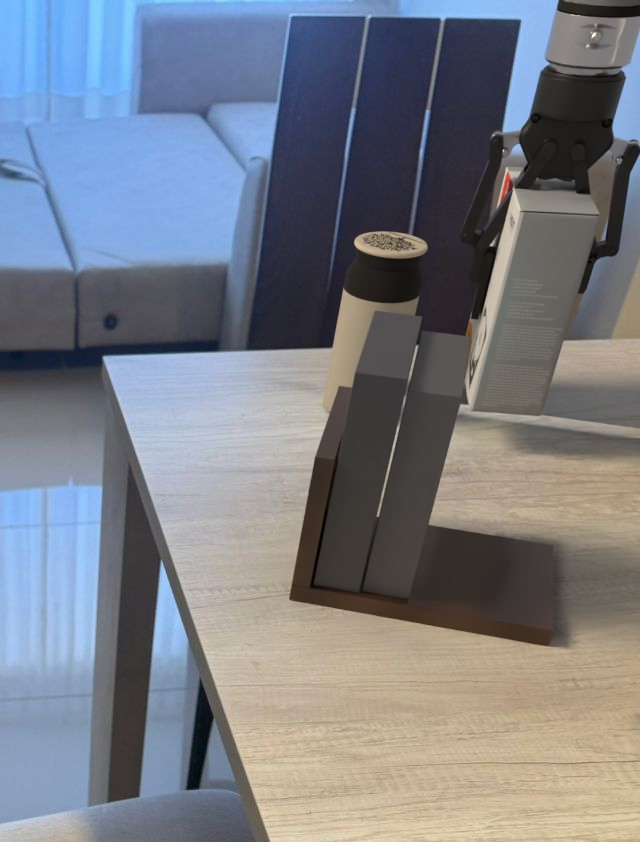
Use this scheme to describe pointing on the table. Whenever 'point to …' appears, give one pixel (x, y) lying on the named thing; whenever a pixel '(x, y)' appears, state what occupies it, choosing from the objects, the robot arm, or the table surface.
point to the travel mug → (372, 297)
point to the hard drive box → (529, 295)
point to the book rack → (435, 567)
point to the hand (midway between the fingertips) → (516, 319)
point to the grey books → (371, 449)
